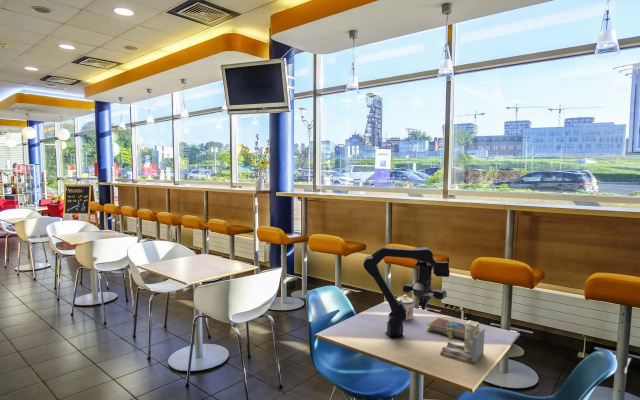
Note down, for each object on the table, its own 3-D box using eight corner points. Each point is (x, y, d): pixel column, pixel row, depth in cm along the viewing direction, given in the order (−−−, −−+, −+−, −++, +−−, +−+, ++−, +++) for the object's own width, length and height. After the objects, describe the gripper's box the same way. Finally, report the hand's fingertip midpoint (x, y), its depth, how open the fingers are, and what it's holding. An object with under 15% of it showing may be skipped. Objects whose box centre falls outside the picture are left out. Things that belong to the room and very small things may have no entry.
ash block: (463, 354, 161) (465, 323, 160) (467, 350, 165) (468, 320, 164) (474, 357, 159) (475, 326, 158) (477, 353, 163) (478, 322, 162)
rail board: (440, 354, 164) (440, 349, 163) (449, 344, 173) (449, 339, 173) (475, 364, 155) (475, 359, 155) (483, 353, 165) (483, 348, 165)
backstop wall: (471, 361, 156) (472, 336, 156) (479, 350, 166) (480, 327, 165) (475, 362, 155) (476, 337, 155) (483, 351, 165) (484, 328, 164)
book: (430, 322, 203) (430, 312, 202) (480, 335, 187) (481, 324, 187) (417, 330, 190) (417, 320, 189) (469, 344, 175) (470, 333, 174)
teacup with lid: (410, 321, 200) (411, 298, 199) (393, 318, 204) (393, 296, 203) (416, 314, 210) (417, 292, 210) (399, 311, 215) (400, 290, 214)
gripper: (398, 275, 177) (396, 309, 178) (438, 283, 166) (437, 319, 167) (408, 271, 186) (407, 303, 187) (447, 277, 175) (446, 312, 176)
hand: (423, 309), depth 179 cm, fingers closed
